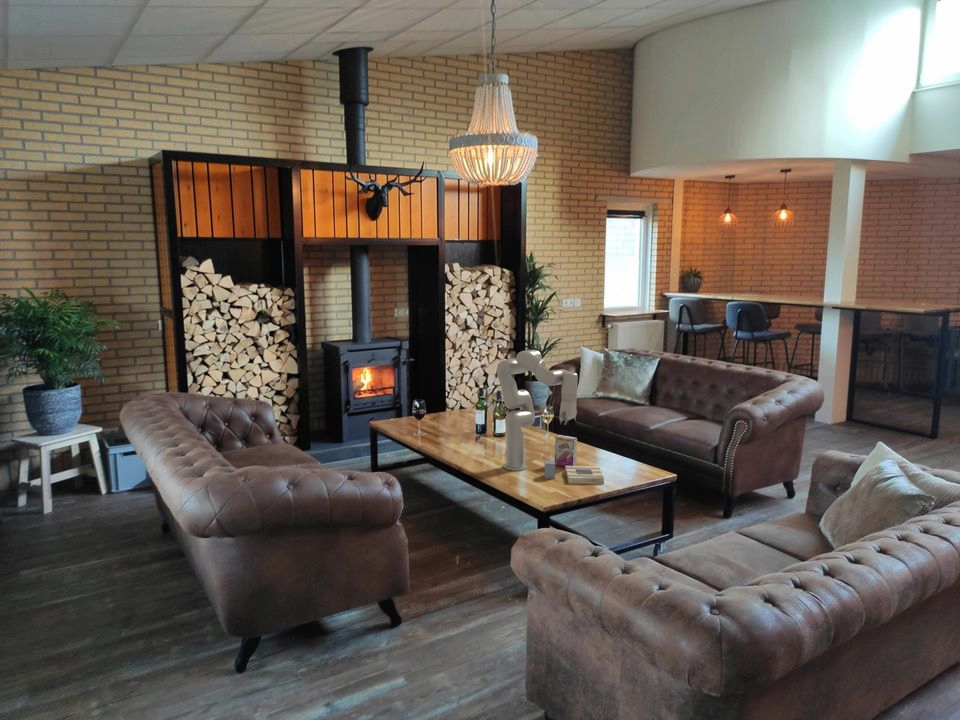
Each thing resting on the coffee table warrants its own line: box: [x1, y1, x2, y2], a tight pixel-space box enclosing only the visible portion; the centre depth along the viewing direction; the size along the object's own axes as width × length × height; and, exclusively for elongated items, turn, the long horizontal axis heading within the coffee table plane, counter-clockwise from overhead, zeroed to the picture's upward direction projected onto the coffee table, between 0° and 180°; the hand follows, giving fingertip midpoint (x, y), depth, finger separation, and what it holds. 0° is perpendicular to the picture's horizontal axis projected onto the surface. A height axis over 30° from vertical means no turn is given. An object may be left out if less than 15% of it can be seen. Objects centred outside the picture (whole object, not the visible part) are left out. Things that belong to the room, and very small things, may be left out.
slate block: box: [544, 460, 556, 479], centre depth 375 cm, size 5×5×8 cm
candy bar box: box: [554, 434, 578, 467], centre depth 394 cm, size 11×5×16 cm, turn 59°
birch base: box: [564, 465, 605, 485], centre depth 375 cm, size 20×18×3 cm
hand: (567, 430), depth 358 cm, fingers open, 9 cm apart
